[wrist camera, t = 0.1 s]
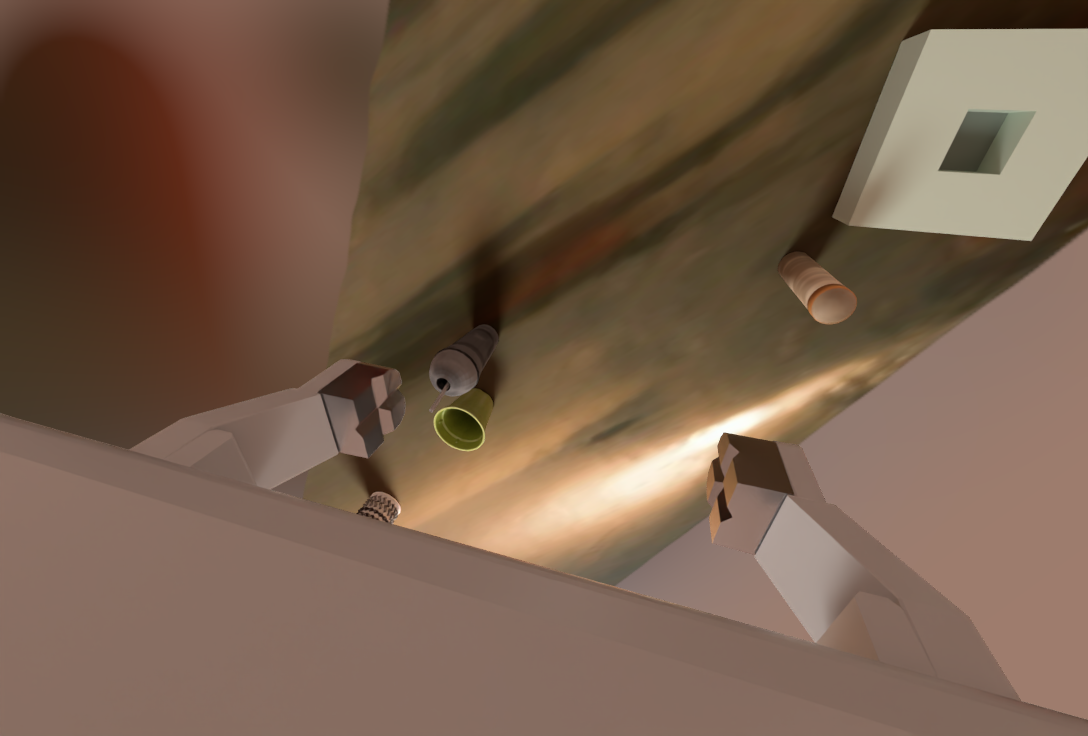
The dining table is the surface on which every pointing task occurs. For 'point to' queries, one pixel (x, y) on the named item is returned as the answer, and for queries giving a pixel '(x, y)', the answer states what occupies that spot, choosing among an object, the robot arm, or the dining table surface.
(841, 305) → the pin
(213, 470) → the robot arm
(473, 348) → the beverage cup
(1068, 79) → the bore block
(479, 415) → the plant pot
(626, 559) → the dining table surface
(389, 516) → the decorative candle
